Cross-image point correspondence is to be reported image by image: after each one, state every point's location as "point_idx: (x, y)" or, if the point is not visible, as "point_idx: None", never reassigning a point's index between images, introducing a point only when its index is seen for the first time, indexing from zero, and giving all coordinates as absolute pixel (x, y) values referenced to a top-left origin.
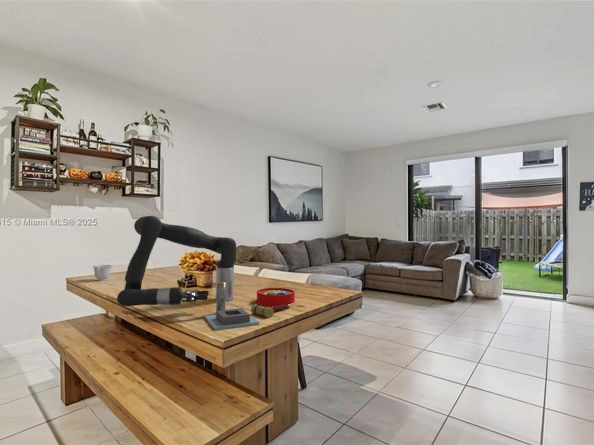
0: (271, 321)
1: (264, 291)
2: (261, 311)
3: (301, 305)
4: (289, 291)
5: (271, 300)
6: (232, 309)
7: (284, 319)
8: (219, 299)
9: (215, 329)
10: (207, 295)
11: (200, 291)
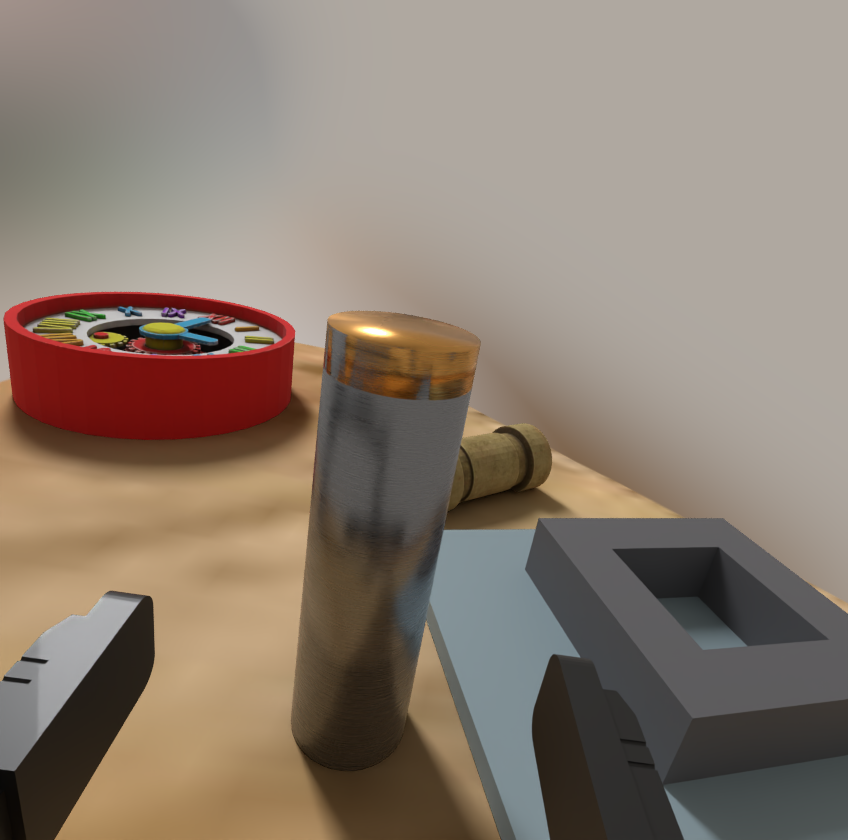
0: (601, 492)
1: (56, 337)
2: (514, 468)
3: (310, 365)
4: (158, 307)
5: (267, 384)
6: (594, 573)
7: (556, 453)
8: (432, 579)
9: None
10: (569, 659)
11: (21, 770)
